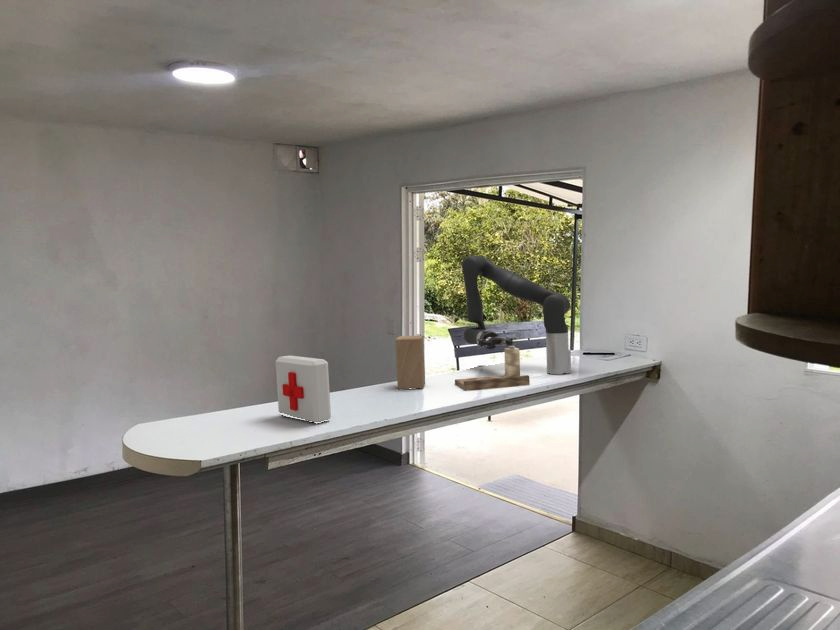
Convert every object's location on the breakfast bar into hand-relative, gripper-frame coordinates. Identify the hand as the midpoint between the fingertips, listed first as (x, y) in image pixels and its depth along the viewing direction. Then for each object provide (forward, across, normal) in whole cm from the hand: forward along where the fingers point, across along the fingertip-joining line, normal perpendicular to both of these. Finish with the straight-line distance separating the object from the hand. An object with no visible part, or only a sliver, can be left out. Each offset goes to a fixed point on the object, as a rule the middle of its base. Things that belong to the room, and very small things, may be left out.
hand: (500, 344), depth 268 cm
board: (+9, -8, +14) cm, 19 cm away
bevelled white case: (+37, -82, +16) cm, 92 cm away
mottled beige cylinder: (+12, 0, +12) cm, 17 cm away
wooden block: (-1, -38, +15) cm, 41 cm away
